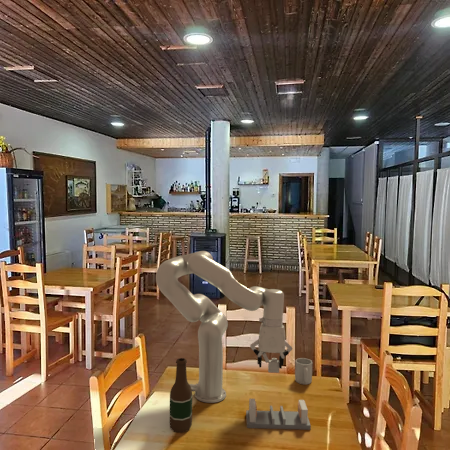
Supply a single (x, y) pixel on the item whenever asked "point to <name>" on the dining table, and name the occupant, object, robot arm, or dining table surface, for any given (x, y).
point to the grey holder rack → (278, 417)
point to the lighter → (272, 364)
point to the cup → (303, 371)
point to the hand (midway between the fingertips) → (270, 366)
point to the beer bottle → (181, 400)
